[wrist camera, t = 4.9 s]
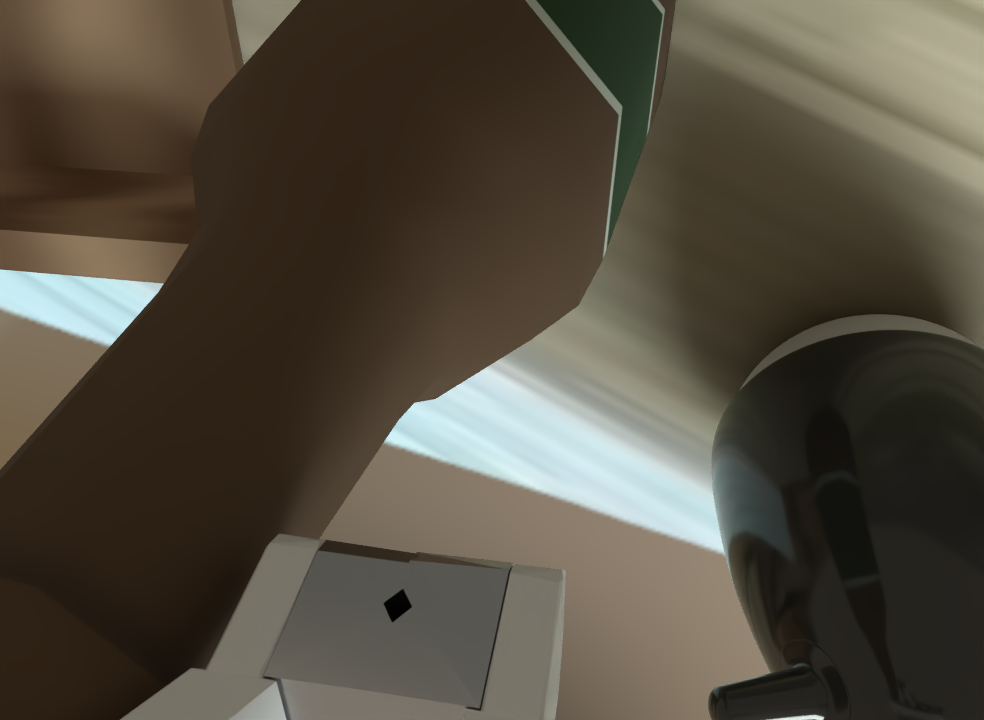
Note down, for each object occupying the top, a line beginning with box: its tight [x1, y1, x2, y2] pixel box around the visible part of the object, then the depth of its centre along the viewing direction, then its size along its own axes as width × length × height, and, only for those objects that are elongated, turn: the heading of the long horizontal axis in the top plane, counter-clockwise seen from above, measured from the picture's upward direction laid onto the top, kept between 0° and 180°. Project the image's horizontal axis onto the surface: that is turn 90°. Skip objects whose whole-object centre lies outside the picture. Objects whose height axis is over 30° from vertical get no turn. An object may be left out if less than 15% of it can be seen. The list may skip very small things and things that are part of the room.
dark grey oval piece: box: [708, 314, 984, 720], centre depth 27 cm, size 10×10×15 cm
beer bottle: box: [0, 0, 676, 720], centre depth 17 cm, size 8×8×24 cm
